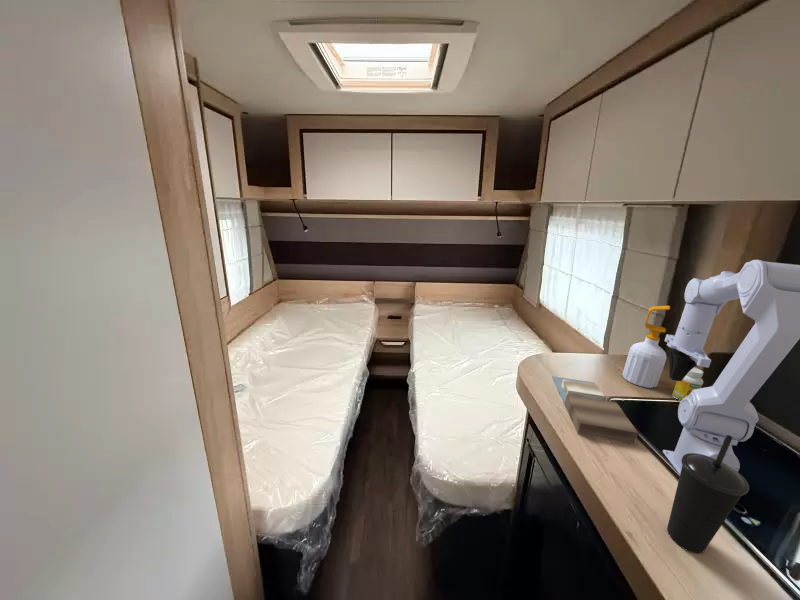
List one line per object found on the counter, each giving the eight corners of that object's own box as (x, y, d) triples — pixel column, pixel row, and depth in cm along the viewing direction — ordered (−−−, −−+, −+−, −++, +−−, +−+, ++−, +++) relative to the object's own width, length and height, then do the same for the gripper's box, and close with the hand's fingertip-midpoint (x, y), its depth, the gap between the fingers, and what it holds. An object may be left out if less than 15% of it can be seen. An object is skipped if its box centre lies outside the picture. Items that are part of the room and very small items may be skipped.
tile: (596, 384, 96) (594, 390, 97) (562, 379, 98) (561, 385, 98) (604, 395, 90) (602, 402, 91) (568, 390, 92) (566, 396, 93)
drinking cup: (691, 519, 58) (733, 422, 52) (729, 565, 51) (783, 459, 45) (646, 514, 59) (683, 417, 53) (677, 559, 52) (724, 453, 45)
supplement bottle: (682, 394, 99) (693, 364, 96) (700, 405, 94) (712, 374, 91) (666, 394, 98) (677, 364, 95) (683, 405, 93) (695, 374, 90)
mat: (612, 411, 88) (612, 410, 88) (563, 403, 90) (564, 402, 90) (594, 383, 101) (594, 382, 101) (552, 376, 103) (552, 376, 103)
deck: (634, 444, 76) (638, 432, 75) (577, 433, 78) (580, 423, 77) (613, 412, 87) (616, 402, 87) (564, 404, 90) (566, 394, 89)
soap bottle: (656, 392, 99) (683, 313, 91) (620, 380, 104) (643, 305, 96) (657, 380, 106) (682, 306, 98) (623, 370, 111) (644, 299, 103)
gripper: (658, 317, 88) (644, 363, 92) (693, 338, 75) (673, 392, 79) (689, 320, 87) (672, 367, 91) (729, 343, 74) (708, 397, 78)
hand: (675, 379), depth 85 cm, fingers closed
